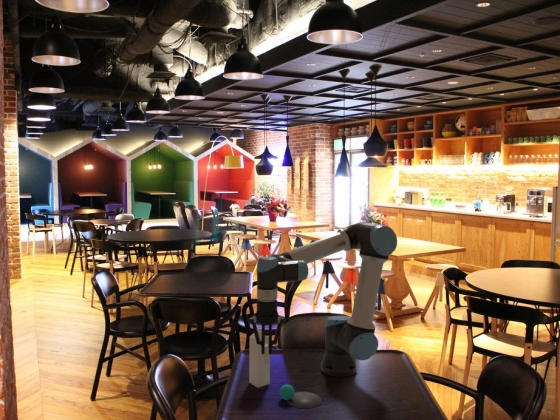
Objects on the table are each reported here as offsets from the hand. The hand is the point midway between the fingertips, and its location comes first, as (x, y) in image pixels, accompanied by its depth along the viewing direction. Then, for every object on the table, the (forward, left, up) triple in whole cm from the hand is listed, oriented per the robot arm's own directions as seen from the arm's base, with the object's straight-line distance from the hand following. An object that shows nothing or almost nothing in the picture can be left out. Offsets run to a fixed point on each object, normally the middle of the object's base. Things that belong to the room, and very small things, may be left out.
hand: (266, 362), depth 181 cm
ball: (-8, -1, -12) cm, 14 cm away
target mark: (-14, 0, -14) cm, 20 cm away
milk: (+3, -15, -15) cm, 21 cm away
